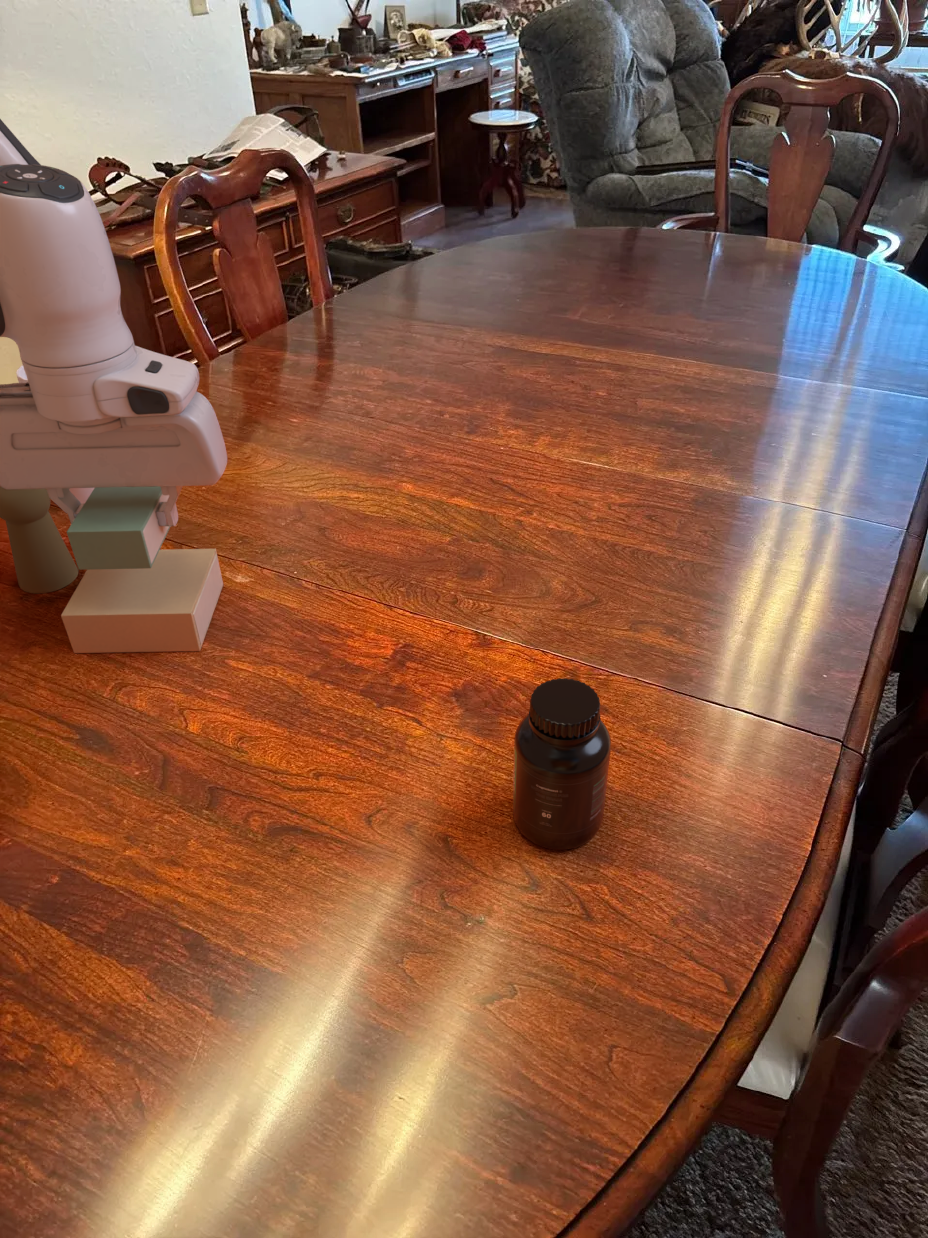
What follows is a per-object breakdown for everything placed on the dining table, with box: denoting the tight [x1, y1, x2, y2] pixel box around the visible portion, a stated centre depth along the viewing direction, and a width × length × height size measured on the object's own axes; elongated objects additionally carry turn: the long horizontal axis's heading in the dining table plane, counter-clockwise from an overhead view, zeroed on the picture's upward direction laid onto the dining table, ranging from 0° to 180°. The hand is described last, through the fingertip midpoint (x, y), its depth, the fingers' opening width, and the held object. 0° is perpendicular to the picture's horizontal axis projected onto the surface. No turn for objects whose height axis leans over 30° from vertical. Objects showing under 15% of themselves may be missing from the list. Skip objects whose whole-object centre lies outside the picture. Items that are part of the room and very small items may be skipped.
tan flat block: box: [60, 548, 224, 654], centre depth 90 cm, size 12×11×4 cm
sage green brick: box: [66, 486, 179, 571], centre depth 85 cm, size 7×10×4 cm, turn 0°
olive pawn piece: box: [0, 486, 80, 594], centre depth 94 cm, size 6×6×11 cm
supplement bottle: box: [512, 677, 612, 851], centre depth 67 cm, size 7×7×12 cm
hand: (127, 524), depth 85 cm, fingers closed on sage green brick, 6 cm apart
